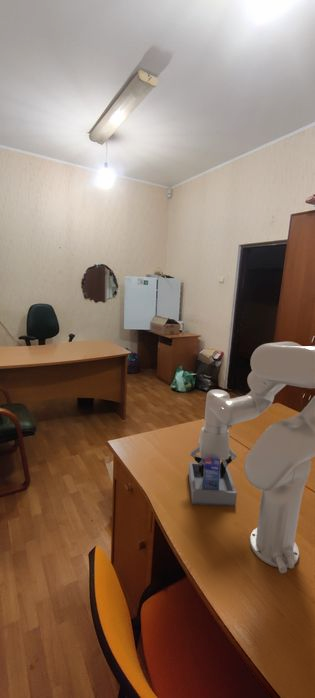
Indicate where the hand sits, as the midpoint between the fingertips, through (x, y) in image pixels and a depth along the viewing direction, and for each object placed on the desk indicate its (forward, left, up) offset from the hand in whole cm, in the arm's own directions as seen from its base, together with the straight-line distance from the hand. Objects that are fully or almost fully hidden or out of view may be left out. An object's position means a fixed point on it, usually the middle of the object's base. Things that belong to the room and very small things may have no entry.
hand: (211, 473), depth 104 cm
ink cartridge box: (0, 0, -5) cm, 5 cm away
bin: (0, 0, -6) cm, 6 cm away
